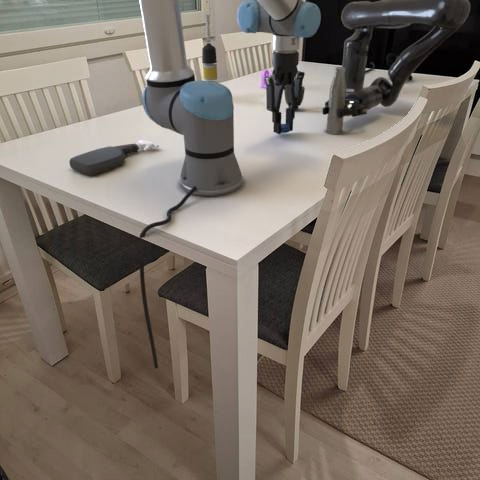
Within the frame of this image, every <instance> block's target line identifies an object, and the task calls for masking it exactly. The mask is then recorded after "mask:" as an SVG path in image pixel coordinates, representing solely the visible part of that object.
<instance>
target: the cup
mask: <svg viewBox="0 0 480 480" xmlns="http://www.w3.org/2000/svg"><path fill="white" fill-rule="evenodd" d="M305 91H306V87H305V85H304V86H303V85H302V95H301V104H302V103H303V101H304V97H305ZM283 93H284V101H285V103H286V105H287V106H288V100H287V92H286V86H285V89H284V90H283ZM297 107H298V109H297V110H296V111H298V110H299V107H300V106H297Z"/></svg>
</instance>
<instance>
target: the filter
mask: <svg viewBox="0 0 480 480" xmlns="http://www.w3.org/2000/svg"><path fill="white" fill-rule="evenodd" d="M210 17H211V14H204V18H205V27H206V29H205V30H206V31H205V33H206V39H207V40H206V42H207V43H206V45H204V46H202V49H201V50H202V51H201V52H202V54H201V55H202V57H201V58H202V61H201V63H202V71H203V72H202V73H203V74H202V75H203V81H208V82H216V83H219V82H218V81H216V80H218V64H216V63H218V61H217V48H216V47H215V46H214V45H212V43H210V42H211V40H210V39H211V31H210V29H211V28H210Z"/></svg>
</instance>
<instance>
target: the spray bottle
mask: <svg viewBox="0 0 480 480" xmlns="http://www.w3.org/2000/svg"><path fill="white" fill-rule="evenodd" d="M159 148H160V145H159V144H158V143H155V142H151V141H148V140H144V139H139V140H138V141H137V142H135V143H129V144H128V143H126V144H122V145H113V146H105V147H100V148H97V149H94V150H90V151H87V152H83V153H81V154H78V155H74V156H73V157H70V159H69V161H68V162H69V167H70V168H71V169H72V170H74V171H75V172H78V173H81V174H83V175H85V176H89V177H90V176H91V177H92V176H95V175H99V174H102V173H105V172H107V171H110V170H113V169H116V168H118V167H120V166H122V165H123V164H124V163H125V158H126V156H127V155H131V154H133V153H138V151H140V150H143V151H144V152H146V151H147V150H149V149H159Z"/></svg>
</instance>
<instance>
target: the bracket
mask: <svg viewBox="0 0 480 480" xmlns="http://www.w3.org/2000/svg"><path fill="white" fill-rule="evenodd" d="M272 72H273V70H271V71H269V70H268V69H263V70H262V71H261V75H260V76H261V79H260V80H261V83H260V84H261V85H260V87H261V88H264V89H266V83H265V77H269V76H270V75H272ZM274 81H275V79H274ZM274 85H275V83H274ZM280 86H281V85H280Z"/></svg>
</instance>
